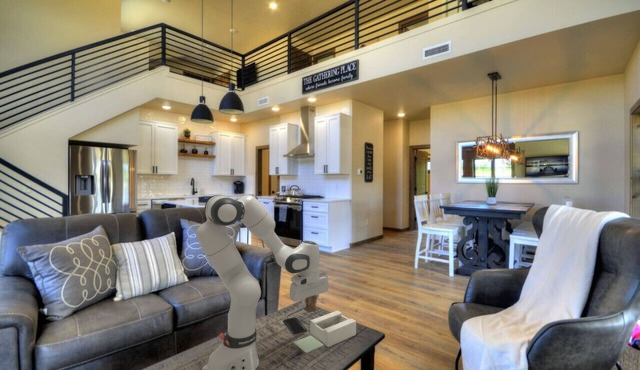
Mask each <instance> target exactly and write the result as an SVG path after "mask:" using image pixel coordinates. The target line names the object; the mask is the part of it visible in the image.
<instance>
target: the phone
mask: <svg viewBox="0 0 640 370" xmlns="http://www.w3.org/2000/svg"><path fill="white" fill-rule="evenodd" d="M282 322H283V323H284V325H285V327H286V328H287V329H288V330H289V331H290V333H291V334H292V335H293V336H294V335H299V334H304V333H307V327H305V326H304V324H303V323H302V322H301V321H300V320H299V319H298V317H296V316H295V317H290V318H285V319H283V320H282Z"/></svg>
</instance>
